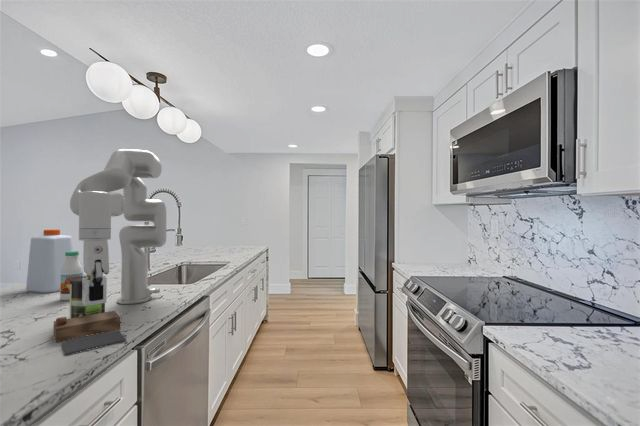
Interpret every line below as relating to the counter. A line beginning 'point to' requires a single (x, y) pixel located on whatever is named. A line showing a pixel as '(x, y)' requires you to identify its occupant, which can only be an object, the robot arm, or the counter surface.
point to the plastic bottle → (47, 261)
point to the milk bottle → (69, 273)
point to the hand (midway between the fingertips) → (94, 297)
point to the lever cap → (85, 291)
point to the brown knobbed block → (85, 325)
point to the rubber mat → (92, 342)
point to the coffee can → (76, 301)
